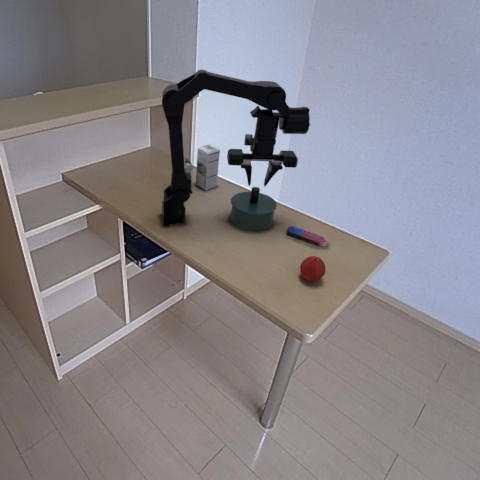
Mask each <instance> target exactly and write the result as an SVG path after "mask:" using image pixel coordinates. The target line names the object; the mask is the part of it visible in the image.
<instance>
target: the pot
mask: <svg viewBox="0 0 480 480" xmlns="http://www.w3.org/2000/svg"><path fill="white" fill-rule="evenodd" d="M275 210H276V209H275ZM275 210H274V211H273V212H272V213H269V214H265V215H251V214H246V213H243V212H241V211H238V210H237V209H235V208H234V207H233V206H232V205H231V211H230V219H229V220H230V222H231V223H232V224H233V225H234V226H236V227H237V228H239V229H241V230H243V231H250V232H262V231H265V230H267V229H269V228H270V227H271V226H272V224H273V220H274V215H275Z"/></svg>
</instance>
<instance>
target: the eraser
mask: <svg viewBox="0 0 480 480" xmlns="http://www.w3.org/2000/svg"><path fill="white" fill-rule="evenodd" d="M286 234H287V236H288V237H290V238H293V239H296V240H299V241H301V242H304V243H308V244H311V245H313V246H316V247H319V248H324V247H325V246H326V245H327V240H326V238H325V237H323V235H322V236H321V235H319V234H316V233H314V232H310V231H306V230H305V229H303V228H300V227H297V226H293V225H292V226H289V227H287V229H286Z"/></svg>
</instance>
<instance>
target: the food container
mask: <svg viewBox="0 0 480 480" xmlns="http://www.w3.org/2000/svg"><path fill="white" fill-rule="evenodd" d="M184 167H185V171H186V173H188V172H191V173H192V171H193V163H192V161H191V159H190V158H187V157H184Z"/></svg>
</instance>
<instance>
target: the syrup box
mask: <svg viewBox="0 0 480 480" xmlns="http://www.w3.org/2000/svg"><path fill="white" fill-rule="evenodd" d="M220 155H221V149H220V148H218V147H215V146H213V145H211V144H205V145H203V146H199V147H197V156H196V173H195V185H196V186H197V187H199V188H201V189H203V190H204V191H208V190H211V189H214V188H216V187H217V186H218V175H219V165H220Z"/></svg>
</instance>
